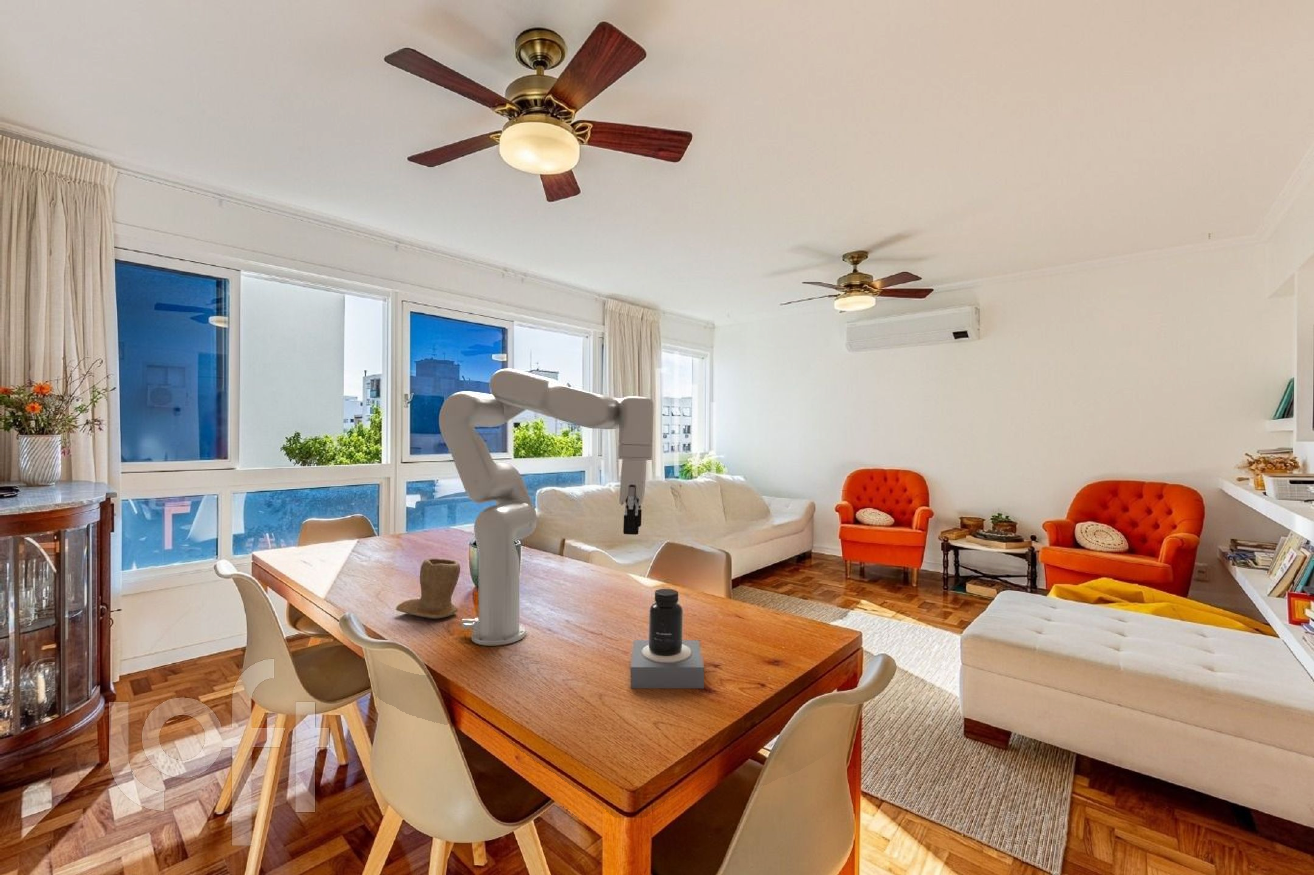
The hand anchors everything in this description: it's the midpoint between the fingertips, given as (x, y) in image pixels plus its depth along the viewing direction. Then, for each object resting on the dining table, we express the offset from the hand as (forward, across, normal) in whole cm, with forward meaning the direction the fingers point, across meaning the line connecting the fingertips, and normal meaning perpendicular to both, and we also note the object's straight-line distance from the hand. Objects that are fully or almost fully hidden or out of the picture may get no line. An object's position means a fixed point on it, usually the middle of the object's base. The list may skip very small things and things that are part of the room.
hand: (632, 530), depth 121 cm
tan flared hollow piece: (+30, -26, -55) cm, 68 cm away
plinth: (+27, +10, +8) cm, 30 cm away
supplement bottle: (+23, +9, +8) cm, 26 cm away
